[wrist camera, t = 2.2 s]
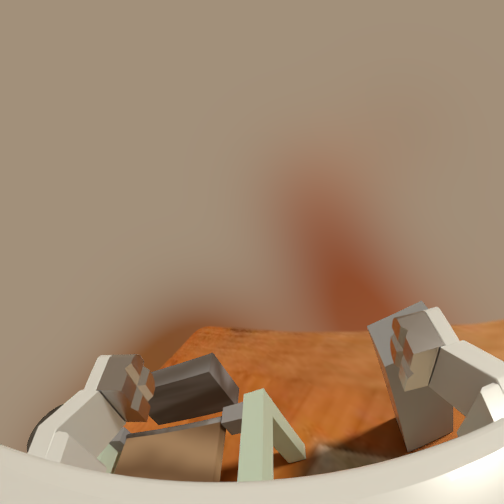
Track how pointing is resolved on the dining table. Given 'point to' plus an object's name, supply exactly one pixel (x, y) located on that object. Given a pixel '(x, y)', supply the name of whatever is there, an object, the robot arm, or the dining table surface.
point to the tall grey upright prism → (410, 392)
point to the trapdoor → (184, 436)
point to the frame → (243, 437)
